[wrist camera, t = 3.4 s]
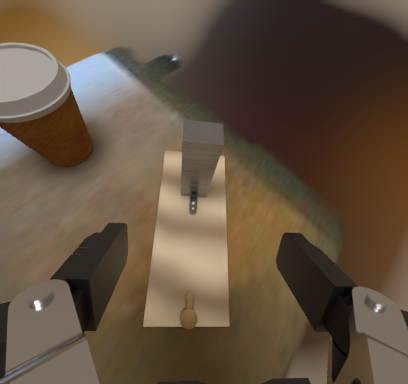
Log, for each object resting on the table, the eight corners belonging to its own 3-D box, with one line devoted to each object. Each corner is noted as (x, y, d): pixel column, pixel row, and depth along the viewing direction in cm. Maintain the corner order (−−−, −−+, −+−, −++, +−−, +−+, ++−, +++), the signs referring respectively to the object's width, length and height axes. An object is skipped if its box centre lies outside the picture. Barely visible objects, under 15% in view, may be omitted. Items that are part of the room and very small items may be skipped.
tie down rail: (165, 156, 30) (164, 139, 27) (222, 161, 31) (228, 145, 28) (145, 323, 21) (138, 332, 18) (226, 323, 22) (235, 332, 18)
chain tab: (183, 153, 29) (187, 86, 19) (206, 155, 29) (222, 90, 19) (179, 213, 25) (180, 167, 15) (206, 214, 25) (224, 171, 15)
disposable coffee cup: (83, 115, 32) (35, 30, 21) (117, 153, 30) (82, 79, 19) (21, 144, 28) (-76, 59, 18) (54, 189, 26) (-33, 124, 15)
